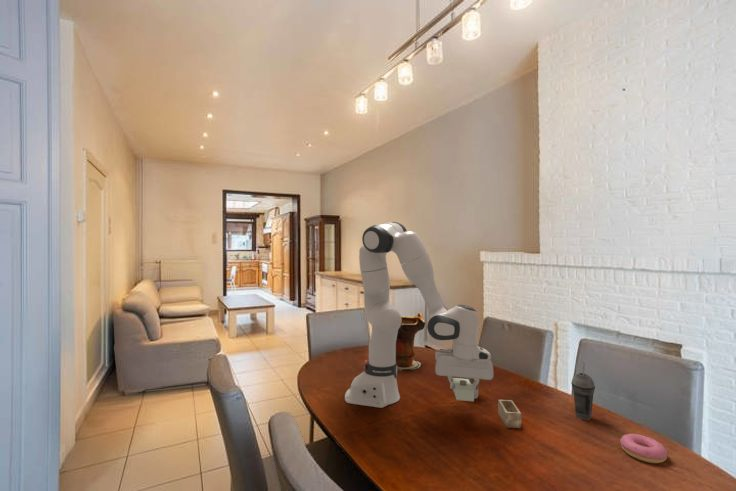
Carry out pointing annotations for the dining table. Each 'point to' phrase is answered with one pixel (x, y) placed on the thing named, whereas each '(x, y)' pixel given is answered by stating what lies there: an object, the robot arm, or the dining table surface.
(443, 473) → the dining table surface
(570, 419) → the dining table surface
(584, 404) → the beverage cup
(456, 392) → the lid
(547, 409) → the dining table surface
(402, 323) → the decorative vase
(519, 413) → the box base
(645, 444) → the doughnut
